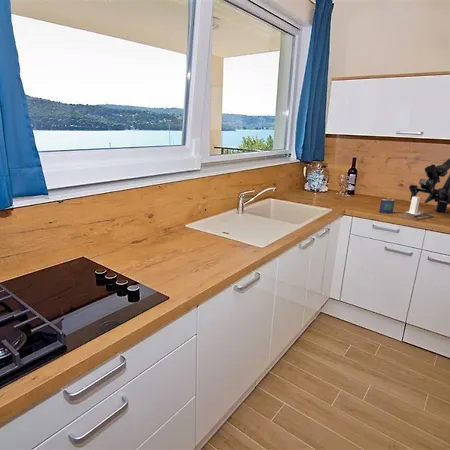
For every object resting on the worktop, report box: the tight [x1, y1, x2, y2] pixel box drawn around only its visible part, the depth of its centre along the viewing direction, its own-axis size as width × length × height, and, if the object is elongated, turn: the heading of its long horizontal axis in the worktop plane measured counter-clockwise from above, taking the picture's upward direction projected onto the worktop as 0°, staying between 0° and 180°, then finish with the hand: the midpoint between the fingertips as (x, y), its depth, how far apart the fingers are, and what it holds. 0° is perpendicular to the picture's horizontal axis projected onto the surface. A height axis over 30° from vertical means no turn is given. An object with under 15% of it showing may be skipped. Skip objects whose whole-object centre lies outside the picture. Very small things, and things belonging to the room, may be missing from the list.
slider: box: [406, 195, 421, 216], centre depth 210 cm, size 6×6×11 cm
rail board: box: [397, 208, 435, 221], centre depth 214 cm, size 20×12×3 cm, turn 121°
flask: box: [378, 196, 396, 215], centre depth 219 cm, size 9×3×11 cm, turn 95°
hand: (417, 201), depth 211 cm, fingers open, 9 cm apart
